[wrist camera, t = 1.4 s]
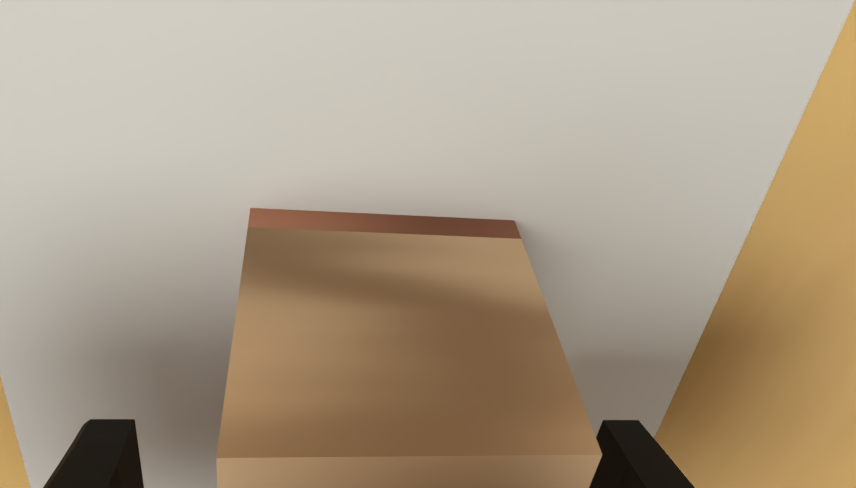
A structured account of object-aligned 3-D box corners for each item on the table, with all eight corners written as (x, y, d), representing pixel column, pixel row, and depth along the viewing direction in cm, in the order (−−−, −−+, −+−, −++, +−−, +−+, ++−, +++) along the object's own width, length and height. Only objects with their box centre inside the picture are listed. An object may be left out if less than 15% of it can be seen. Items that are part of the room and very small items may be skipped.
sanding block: (251, 502, 15) (229, 759, 11) (249, 207, 11) (216, 457, 7) (448, 499, 16) (486, 739, 12) (514, 220, 12) (602, 454, 8)
